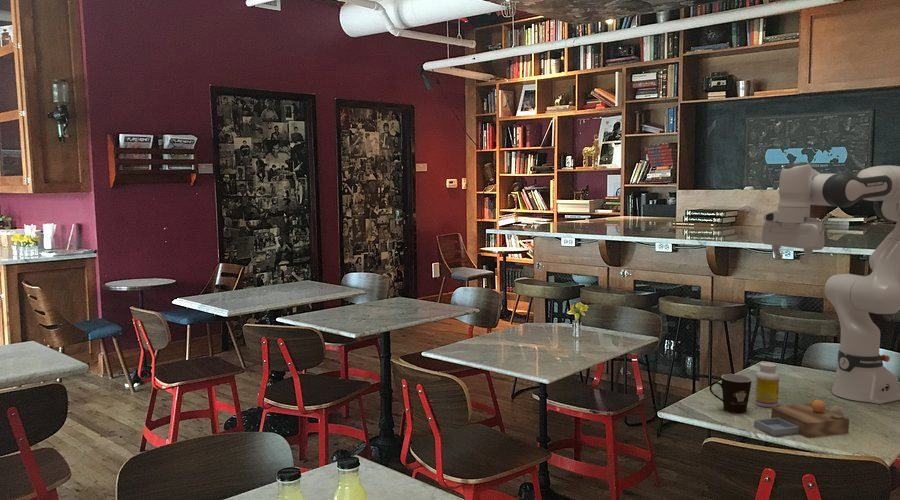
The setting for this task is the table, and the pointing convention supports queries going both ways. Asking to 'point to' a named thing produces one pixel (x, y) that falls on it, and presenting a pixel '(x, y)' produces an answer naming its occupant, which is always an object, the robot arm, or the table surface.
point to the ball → (818, 405)
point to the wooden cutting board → (811, 420)
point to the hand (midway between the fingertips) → (791, 262)
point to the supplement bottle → (767, 385)
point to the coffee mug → (734, 392)
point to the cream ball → (836, 411)
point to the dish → (776, 427)
